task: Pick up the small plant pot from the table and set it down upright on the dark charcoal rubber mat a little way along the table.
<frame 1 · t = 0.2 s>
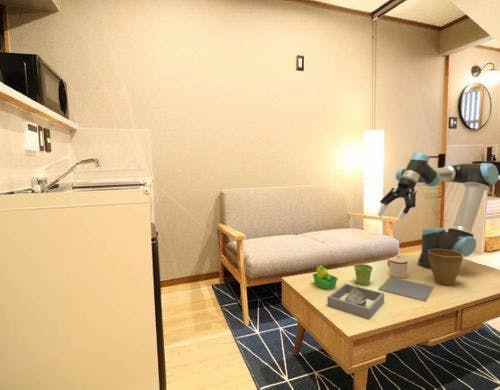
hand: (389, 217, 139), 35 cm above the table, tool tilted 35°, fingers open, 13 cm apart
rock display frame: (356, 303, 125), on the table
plant pot 2: (362, 283, 147), on the table
teacup with lid: (395, 274, 158), on the table
plant pot: (443, 282, 145), on the table
charcoal mat: (406, 288, 139), on the table
fruit basket: (324, 286, 145), on the table
rock sample: (355, 304, 125), resting in rock display frame
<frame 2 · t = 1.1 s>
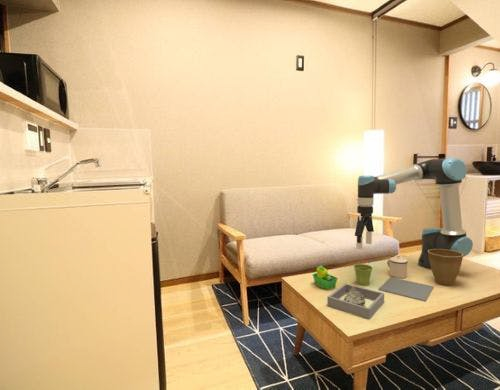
hand: (364, 246, 145), 20 cm above the table, tool pointing down, fingers open, 13 cm apart
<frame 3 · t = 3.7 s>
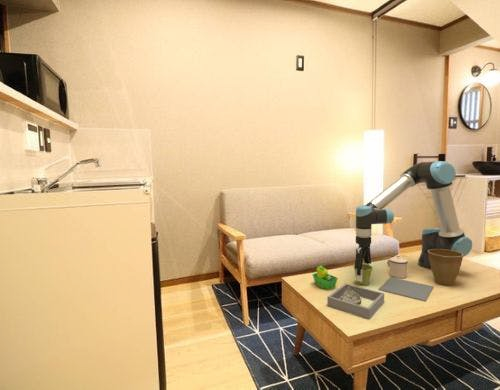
hand: (362, 278, 147), 3 cm above the table, tool pointing down, fingers closed on plant pot 2, 9 cm apart
plant pot 2: (362, 283, 147), on the table, touching gripper
rock sample: (350, 304, 125), resting in rock display frame
everything else where it was.
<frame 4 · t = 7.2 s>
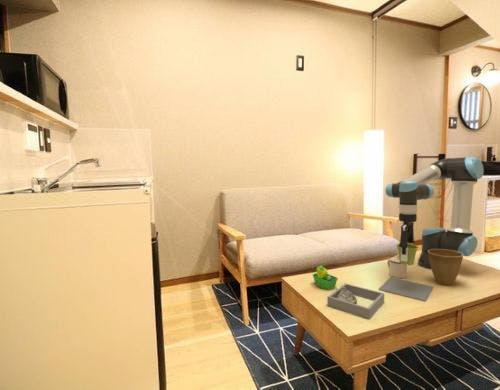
hand: (406, 258, 138), 15 cm above the table, tool pointing down, fingers closed on plant pot 2, 9 cm apart
plant pot 2: (406, 263, 138), point 13 cm above the table, touching gripper
rock sample: (345, 304, 125), resting in rock display frame
everything else where it was.
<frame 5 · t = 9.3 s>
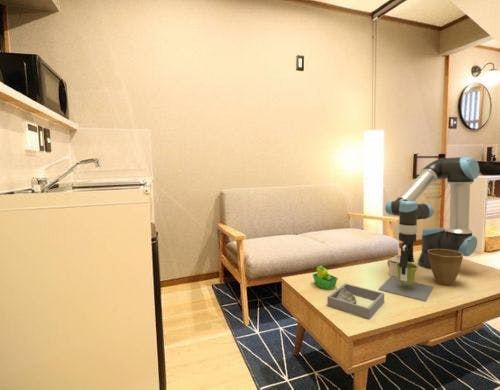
hand: (406, 277, 139), 6 cm above the table, tool pointing down, fingers closed on plant pot 2, 9 cm apart
plant pot 2: (406, 283, 139), point 3 cm above the table, touching gripper
when the fingers open (3 cm above the table, at t = 10.9 s): plant pot 2 stays where it is, resting on charcoal mat.
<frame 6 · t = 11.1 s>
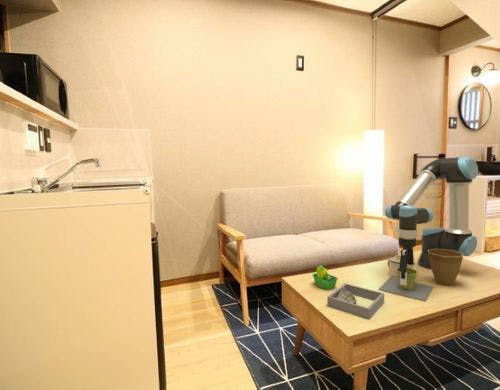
hand: (406, 280, 139), 4 cm above the table, tool pointing down, fingers open, 11 cm apart
plant pot 2: (406, 287, 139), resting on charcoal mat
everything else where it was.
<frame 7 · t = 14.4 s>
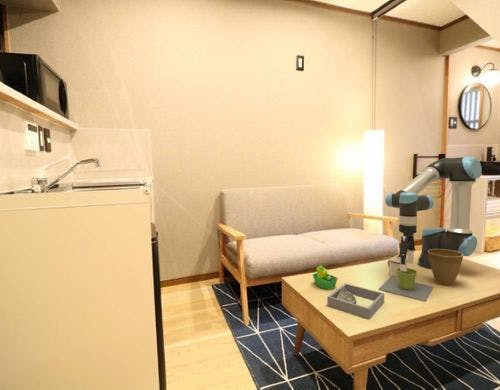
hand: (406, 266, 138), 11 cm above the table, tool pointing down, fingers open, 13 cm apart
rock sample: (345, 305, 125), resting in rock display frame
everything else where it was.
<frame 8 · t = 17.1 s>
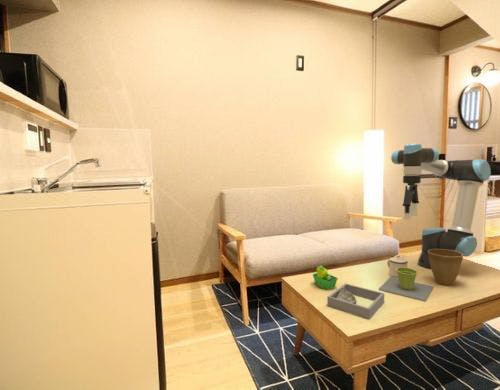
hand: (410, 217, 141), 35 cm above the table, tool pointing down, fingers open, 13 cm apart
nothing on the table moved.
at the end: plant pot 2 inside the target area on the charcoal mat (0.1 cm from its centre), point 0.3 cm above the charcoal mat's base; plant pot 2 tilted 0°; the gripper is holding nothing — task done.
